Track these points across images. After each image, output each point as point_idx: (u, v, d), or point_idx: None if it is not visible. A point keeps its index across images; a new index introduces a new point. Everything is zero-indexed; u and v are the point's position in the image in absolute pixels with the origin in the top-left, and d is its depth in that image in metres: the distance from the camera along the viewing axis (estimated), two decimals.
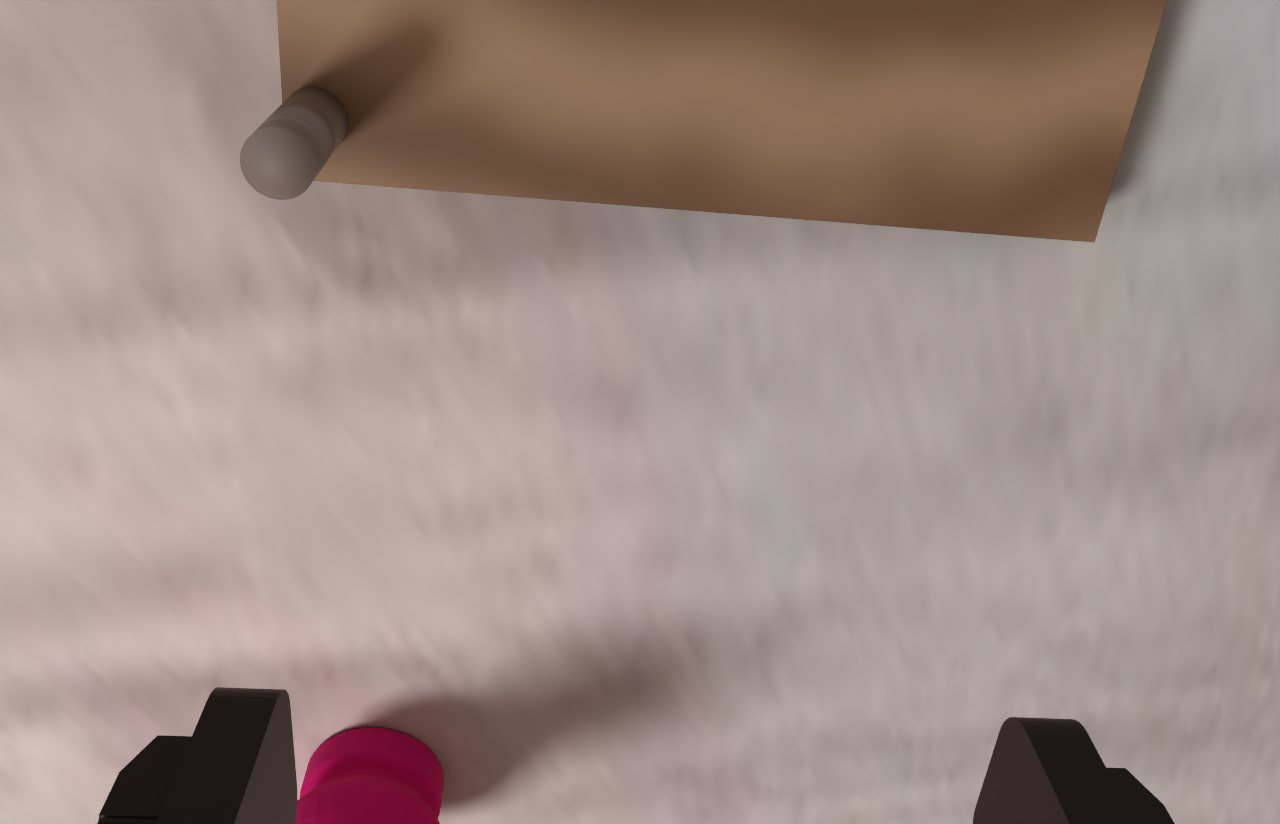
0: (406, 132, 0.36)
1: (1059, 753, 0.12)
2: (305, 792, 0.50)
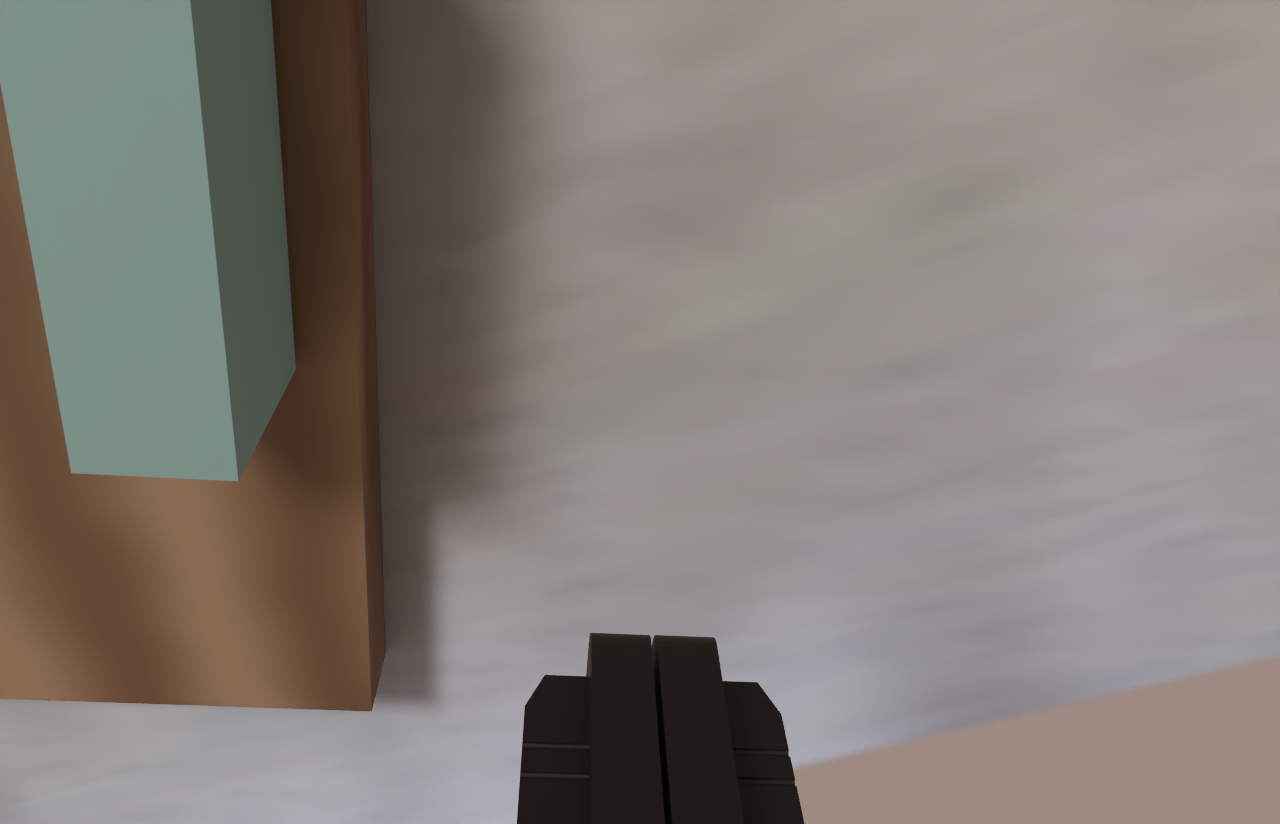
0: None
1: (682, 665, 0.13)
2: None
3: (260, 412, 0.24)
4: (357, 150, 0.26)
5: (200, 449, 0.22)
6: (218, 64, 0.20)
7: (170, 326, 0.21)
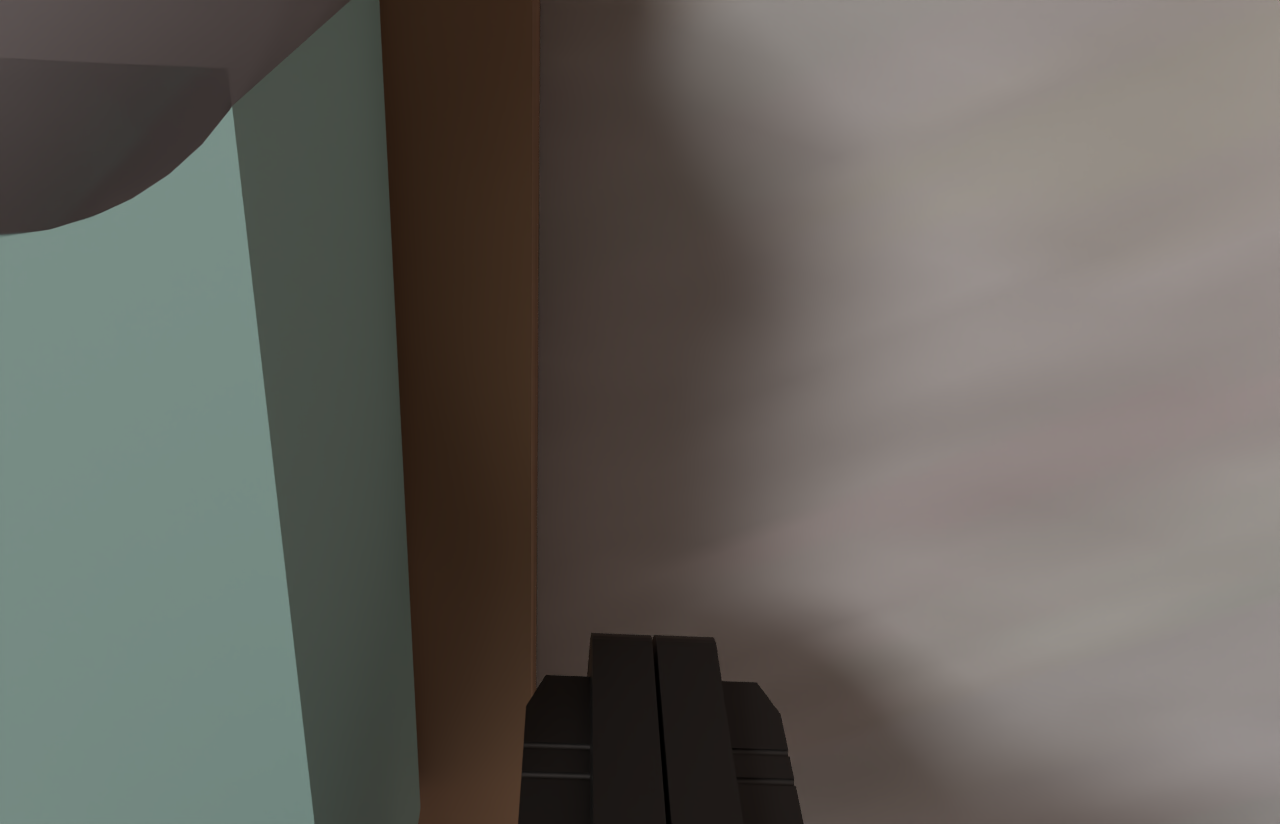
0: None
1: (681, 665, 0.13)
2: None
3: None
4: (533, 451, 0.14)
5: None
6: (319, 468, 0.08)
7: None
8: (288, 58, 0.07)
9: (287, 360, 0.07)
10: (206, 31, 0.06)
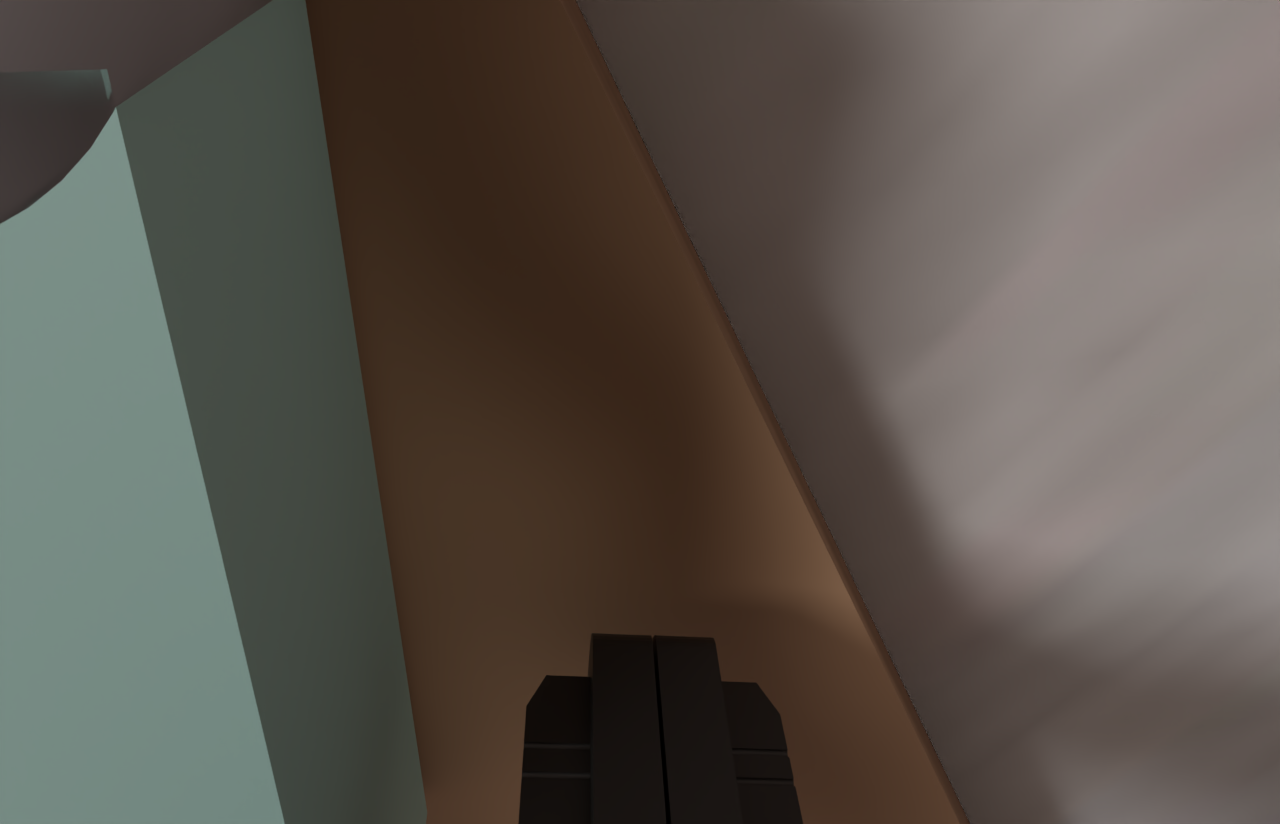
0: None
1: (681, 665, 0.13)
2: None
3: None
4: (713, 304, 0.14)
5: None
6: (261, 469, 0.08)
7: None
8: (188, 60, 0.07)
9: (211, 362, 0.07)
10: (81, 33, 0.06)
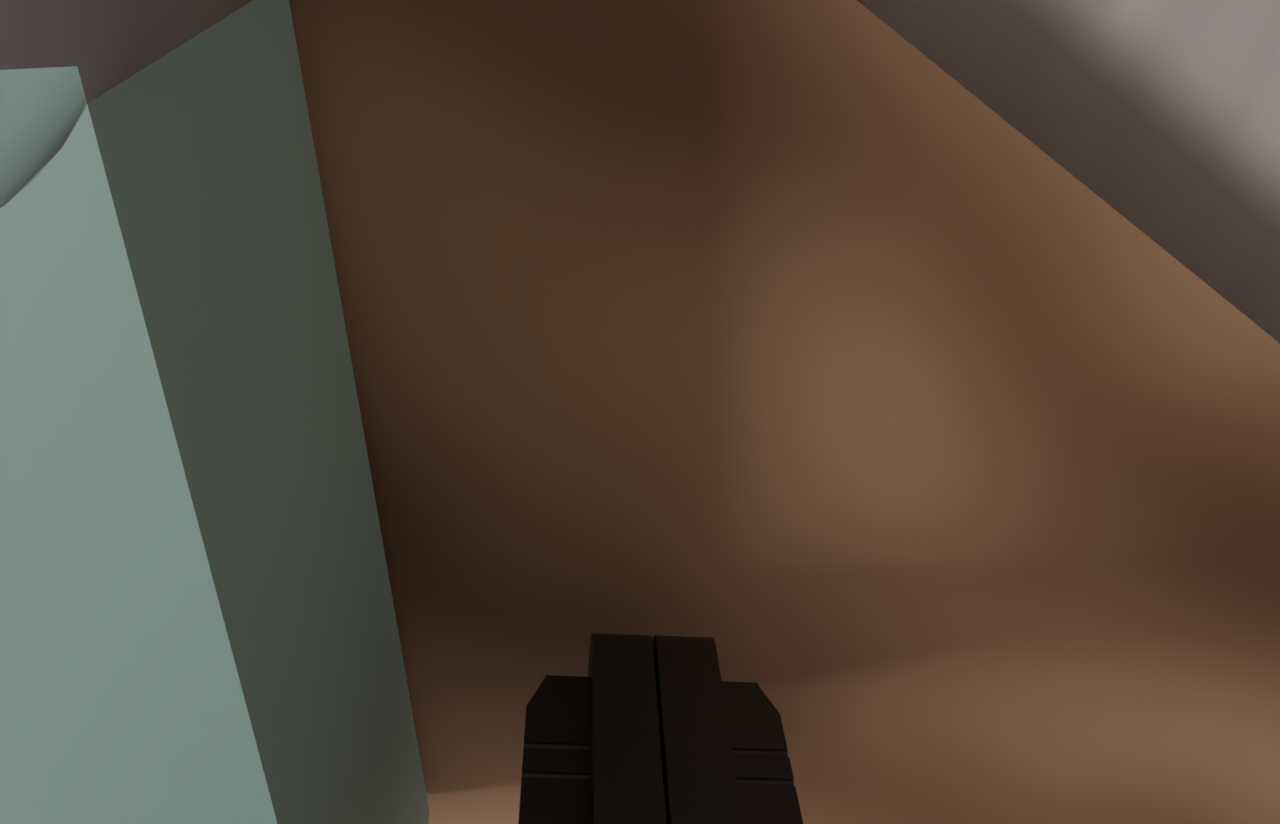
0: None
1: (681, 665, 0.13)
2: None
3: None
4: None
5: None
6: (247, 468, 0.08)
7: None
8: (164, 58, 0.07)
9: (192, 359, 0.07)
10: (51, 31, 0.06)
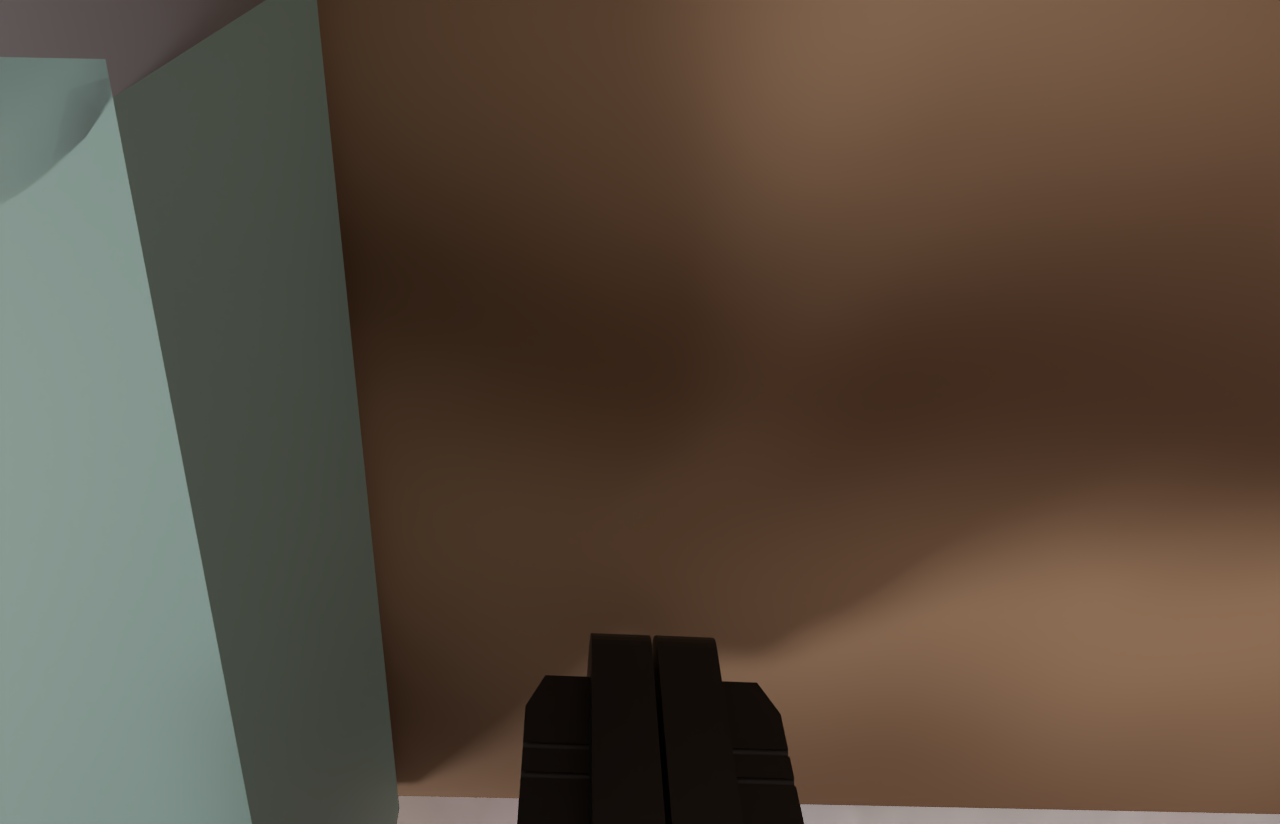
0: None
1: (681, 665, 0.13)
2: None
3: None
4: None
5: None
6: (246, 466, 0.08)
7: None
8: (190, 50, 0.07)
9: (199, 356, 0.07)
10: (81, 21, 0.06)
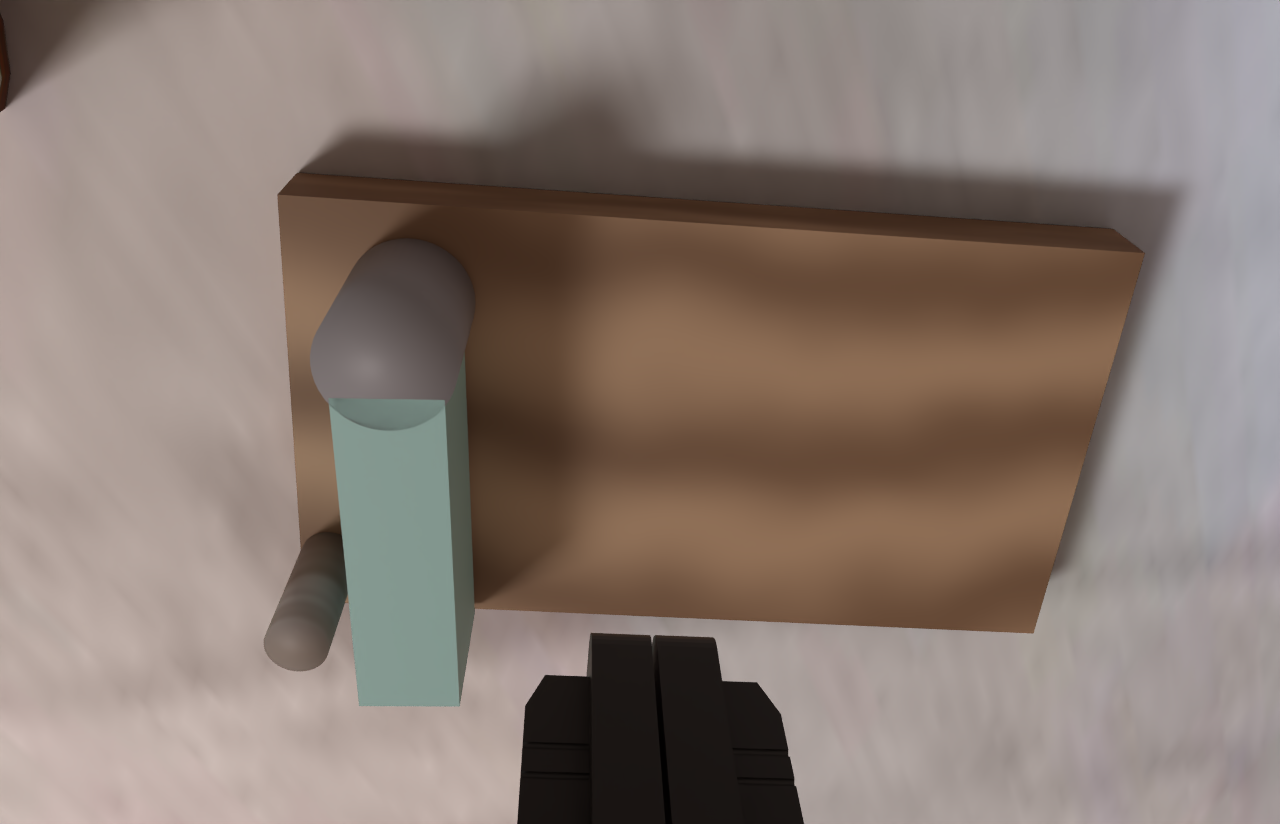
0: None
1: (682, 665, 0.13)
2: None
3: (465, 655, 0.38)
4: (639, 210, 0.35)
5: (437, 689, 0.36)
6: (454, 477, 0.34)
7: (425, 623, 0.35)
8: None
9: (450, 452, 0.33)
10: (441, 393, 0.31)
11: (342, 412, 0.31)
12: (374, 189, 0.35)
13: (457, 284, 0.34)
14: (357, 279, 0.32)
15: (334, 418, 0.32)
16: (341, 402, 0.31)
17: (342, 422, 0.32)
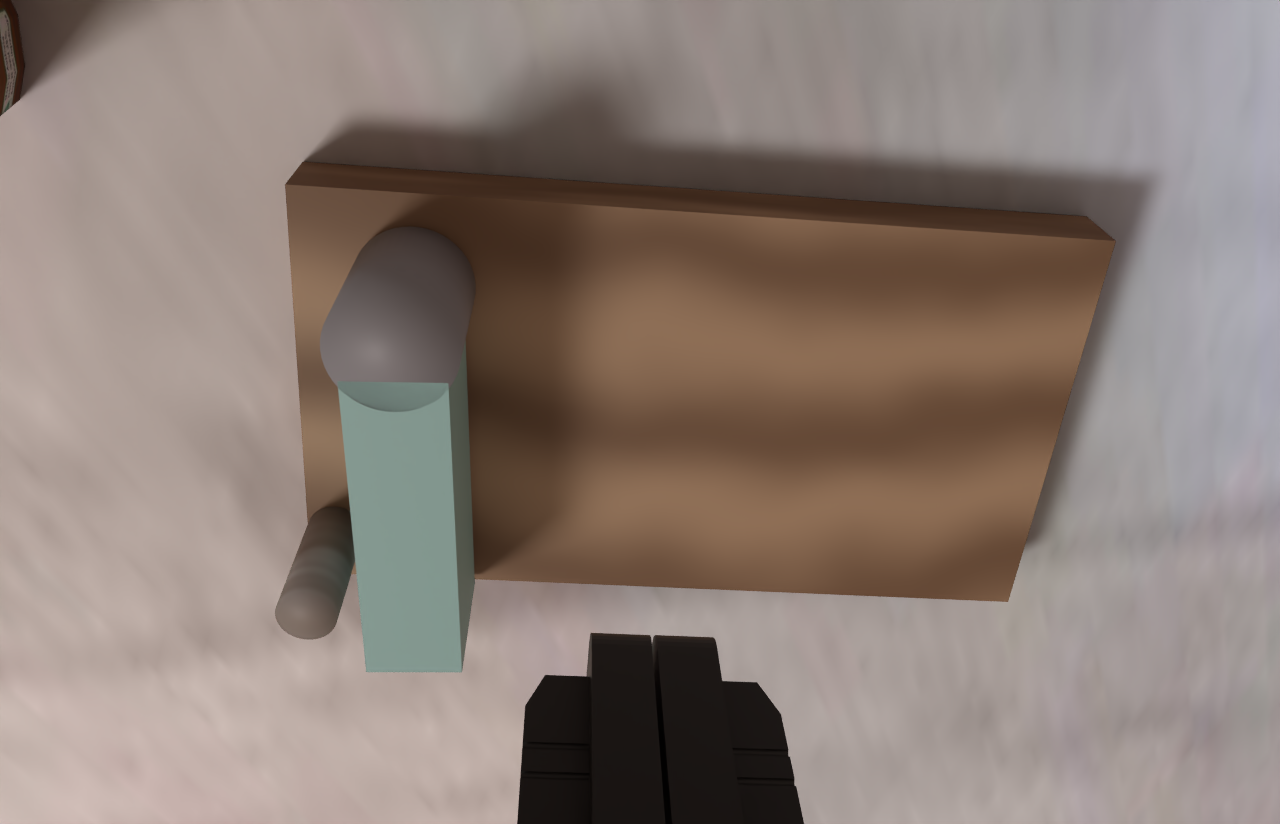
0: None
1: (682, 665, 0.13)
2: None
3: (466, 624, 0.40)
4: (633, 199, 0.37)
5: (441, 656, 0.38)
6: (456, 456, 0.36)
7: (429, 594, 0.37)
8: None
9: (453, 432, 0.34)
10: (445, 377, 0.33)
11: (350, 394, 0.33)
12: (377, 178, 0.37)
13: (459, 271, 0.35)
14: (364, 267, 0.33)
15: (343, 400, 0.33)
16: (349, 385, 0.33)
17: (350, 404, 0.33)
